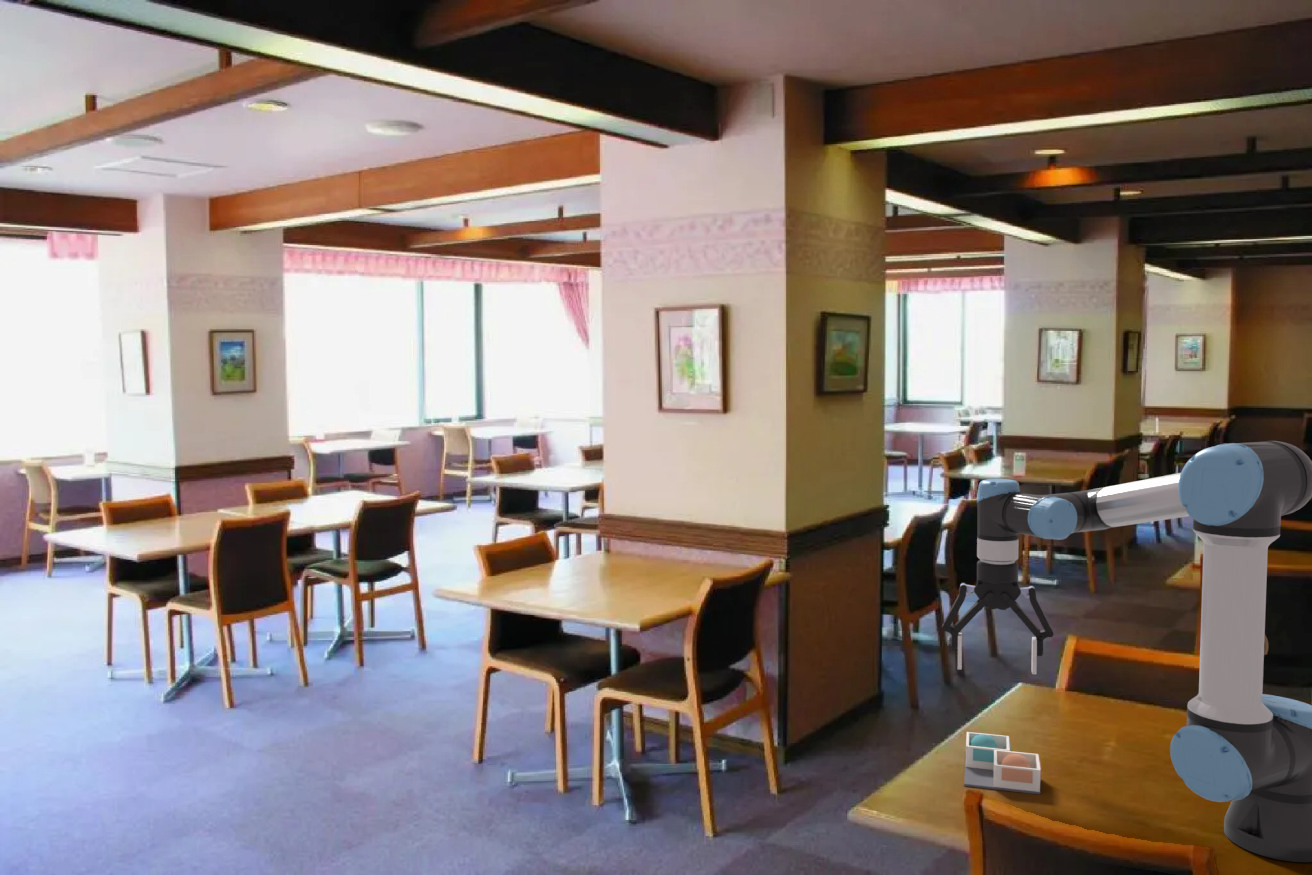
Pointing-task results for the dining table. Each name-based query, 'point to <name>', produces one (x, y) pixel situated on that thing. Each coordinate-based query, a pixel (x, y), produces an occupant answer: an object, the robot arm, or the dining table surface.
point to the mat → (984, 779)
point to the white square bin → (984, 751)
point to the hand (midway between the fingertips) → (996, 670)
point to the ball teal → (983, 741)
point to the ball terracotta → (1015, 761)
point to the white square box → (1017, 772)
